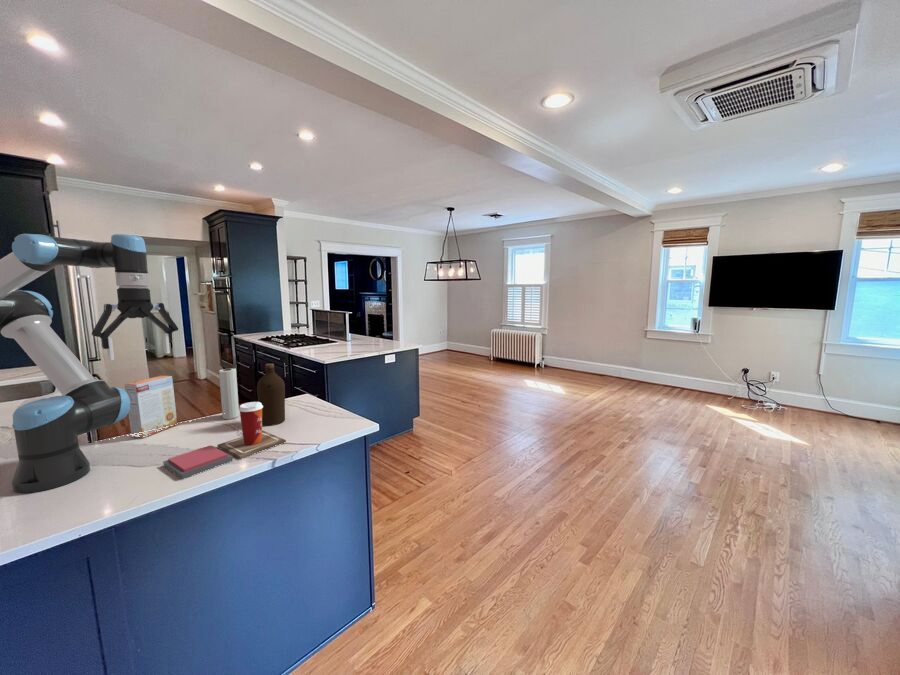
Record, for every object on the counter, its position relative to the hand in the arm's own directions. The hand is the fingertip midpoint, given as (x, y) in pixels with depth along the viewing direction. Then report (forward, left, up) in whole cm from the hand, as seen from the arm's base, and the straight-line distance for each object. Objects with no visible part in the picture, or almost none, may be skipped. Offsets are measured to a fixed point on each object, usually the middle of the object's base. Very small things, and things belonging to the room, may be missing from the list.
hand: (140, 356), depth 111 cm
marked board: (+14, +25, -35) cm, 45 cm away
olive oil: (-2, +42, -35) cm, 55 cm away
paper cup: (+14, +25, -34) cm, 45 cm away
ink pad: (+14, +8, -35) cm, 38 cm away
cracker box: (-30, +10, -35) cm, 47 cm away
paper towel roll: (-22, +35, -35) cm, 54 cm away
